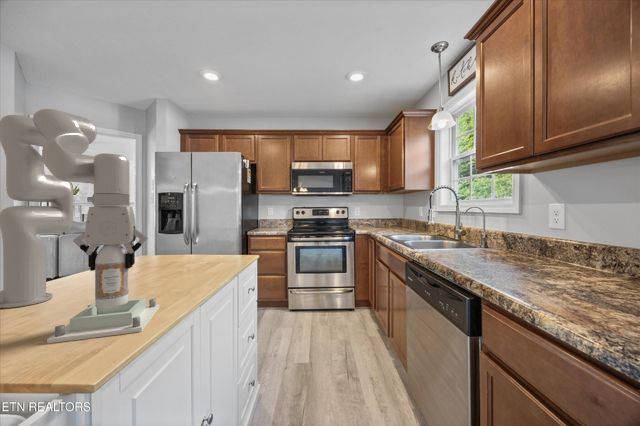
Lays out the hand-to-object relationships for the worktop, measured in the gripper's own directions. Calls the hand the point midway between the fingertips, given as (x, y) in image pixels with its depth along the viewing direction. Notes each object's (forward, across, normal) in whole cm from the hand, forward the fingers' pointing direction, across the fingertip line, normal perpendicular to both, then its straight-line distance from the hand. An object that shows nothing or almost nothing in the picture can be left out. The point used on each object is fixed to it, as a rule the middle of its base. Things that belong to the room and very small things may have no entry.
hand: (112, 268), depth 71 cm
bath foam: (+10, 0, 0) cm, 10 cm away
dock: (+14, 0, 0) cm, 14 cm away
